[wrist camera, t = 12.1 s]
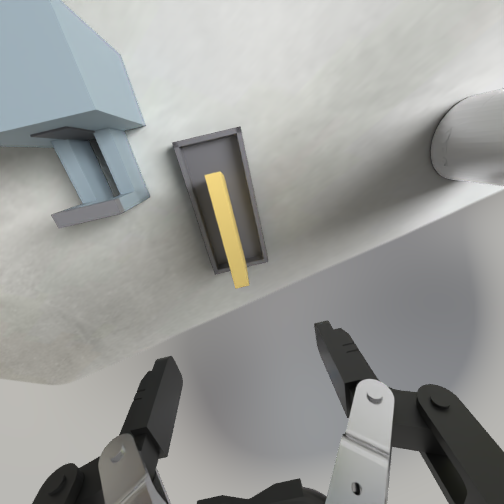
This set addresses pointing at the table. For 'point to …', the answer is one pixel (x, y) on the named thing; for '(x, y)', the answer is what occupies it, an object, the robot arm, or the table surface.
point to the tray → (239, 188)
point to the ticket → (228, 228)
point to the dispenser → (69, 103)
